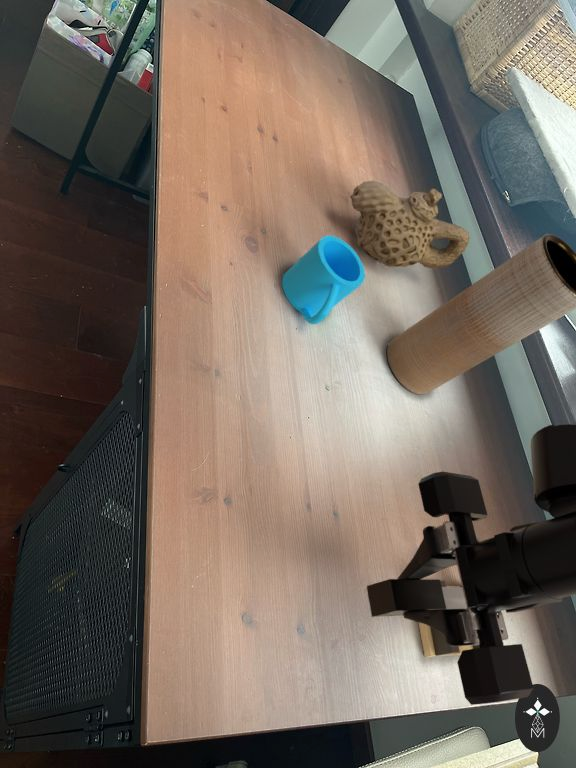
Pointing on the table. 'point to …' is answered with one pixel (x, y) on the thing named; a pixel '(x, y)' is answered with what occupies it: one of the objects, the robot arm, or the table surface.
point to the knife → (412, 596)
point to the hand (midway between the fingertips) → (403, 598)
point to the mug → (323, 278)
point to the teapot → (404, 227)
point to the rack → (439, 640)
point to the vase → (487, 316)
